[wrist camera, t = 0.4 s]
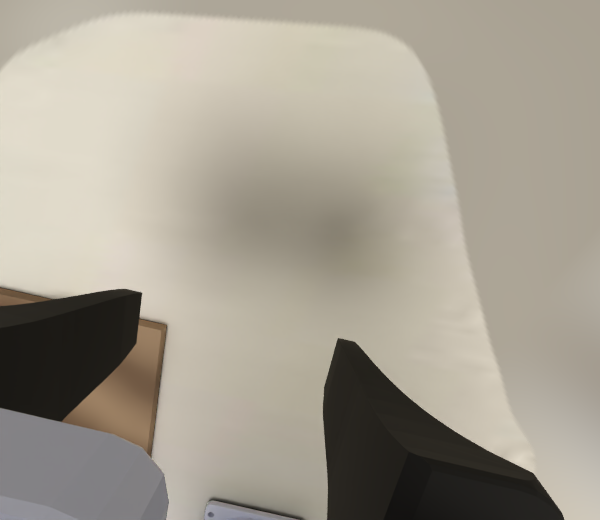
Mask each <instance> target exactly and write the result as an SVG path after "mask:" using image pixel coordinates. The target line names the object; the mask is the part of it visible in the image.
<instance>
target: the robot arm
mask: <svg viewBox="0 0 600 520" xmlns="http://www.w3.org/2000/svg"><path fill="white" fill-rule="evenodd" d="M141 297H142V293H141V292H136V291H132V290H128V289H116V290H108V291H102V292H96V293H90V294H84V295H78V296H73V297H67V298H61V299H54V300H47V301H41V302H34V303H26V304H18V305H8V306H0V520H166V516H167V510H168V503H169V501H168V495H167V489H166V483H165V477H164V474H163V472H162V470H161V469H160V468H159V467H158V466H157V464H156V463H155V462H154V461H153V460H152V459H151V457H150V456H149V455H148V454H147V453H146V451H145V450H144V449H143V448H142V447H140V446H138V445H136V444H133V443H131V442H129V441H127V440H125V439H123V438H121V437H118V436H116V435H114V434H110V433H106V432H102V431H97V430H93V429H89V428H85V427H80V426H76V425H72V424H67V423H63V422H62V421H63V420H64V418H65V417H66V416H67V415H68V414H69V413H70V412H71V411H72V410H74V409H75V408H76V407H77V406H78V405H79V404H80V403H81V402H82V401H83V400H84V399H85V398H86V397H87V396H88V395H89V394H90V393H91V392H92V391H93V390H95V389H96V388H97V387H98V386H99V385H100V384H101V383H102V382H103V381H104V380H105V379H106V378H107V377H108V376H109V375H110V374H111V373H112V372H113V371H114V370H115V369H116V368H117V367H118V366H119V365H120V364H121V363H122V362H123V360H124V359H125V358H126V357H127V355H128V354H129V353H130V351H131V350H132V349H133V347H134V346H135V345H136V343H137V334H138V325H139V316H140V306H141ZM323 421H324V435H325V447H326V460H327V473H328V512H327V520H564V517H563V515H562V513H561V511H560V510H559V508H558V507H557V505H556V504H555V503H554V501H553V500H552V499H551V497H550V496H549V494H548V493H547V492H546V490H545V489H544V487H543V486H542V485H541V483H540V482H539V481H538V479H537V478H536V476H535V475H534V474H533V473H532V472H530V471H528V470H526V469H524V468H521V467H519V466H517V465H515V464H513V463H511V462H509V461H507V460H505V459H503V458H501V457H499V456H497V455H495V454H493V453H491V452H489V451H487V450H485V449H484V448H482V447H480V446H478V445H477V444H475V443H473V442H471V441H470V440H468V439H466V438H464V437H463V436H461V435H460V434H458V433H456V432H455V431H453V430H452V429H450V428H449V427H447V426H446V425H444V424H443V423H441V422H440V421H438V420H437V419H435V418H434V417H433V416H431V415H430V414H428V413H427V412H426V411H424V410H423V409H422V408H421V407H419V406H418V405H417V404H416V403H414V402H413V401H412V400H411V399H410V398H408V397H407V396H406V395H405V394H404V393H403V392H402V391H400V390H399V389H398V388H397V387H396V386H395V385H394V384H393V383H392V382H391V381H390V380H389V379H388V378H387V377H386V376H385V375H384V374H383V373H382V372H381V371H380V369H379V368H378V367H377V366H376V365H375V364H374V363H373V362H372V361H371V359H370V358H369V357H368V356H367V355H366V354H365V352H364V351H363V350H362V349H361V348H360V347H359V346H358V345H357V344H356V343H355V342H353V341H348V340H344V339H340V338H338V340H337V343H336V347H335V351H334V354H333V358H332V361H331V365H330V369H329V372H328V376H327V379H326V383H325V387H324V401H323ZM204 520H298V519H294V518H289V517H285V516H280V515H276V514H271V513H267V512H262V511H258V510H254V509H249V508H245V507H240V506H236V505H231V504H227V503H222V502H218V501H209V502H208V503H207V505H206V509H205V514H204Z"/></svg>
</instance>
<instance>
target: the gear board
mask: <svg viewBox="0 0 600 520" xmlns="http://www.w3.org/2000/svg"><path fill="white" fill-rule="evenodd" d="M47 300H52V299H48V298H43V297H39V296H34V295H30V294H26V293H21V292H17V291H12V290H8V289H3V288H0V306H8V305H18V304H26V303H34V302H41V301H47ZM166 328H167V325H164V324H159V323H155V322H150V321H146V320H142V319H139V325H138V334H137V343H136V345H135V346H134V347H133V349H132V350H131V351H130V353H129V354H128V355H127V357H126V358H125V359H124V360H123V362H122V363H121V364H120V365H119V366H118V367H117V368H116V369H115V370H114V371H113V372H112V373H111V374H110V375H109V376H108V377H107V378H106V379H105V380H104V381H103V382H102V383H101V384H100V385H99V386H98V387H97V388H96V389H95V390H93V391H92V392H91V393H90V394H89V395H88V396H87V397H86V398H85V399H84V400H83V401H82V402H81V403H80V404H79V405H78V406H77V407H76V408H75V409H74V410H72V411H71V412H70V413H69V414H68V415H67V416H66V417H65V418H64V420H63V421H62V422H63V423H67V424H72V425H76V426H80V427H85V428H89V429H93V430H97V431H102V432H106V433H110V434H114V435H116V436H118V437H121V438H123V439H125V440H127V441H129V442H131V443H133V444H136V445H138V446H140V447H142V448H143V449H144V450H145V451H146V453H147V454H148V455H149V456H150V457H151V451H152V442H153V434H154V426H155V418H156V410H157V401H158V393H159V385H160V377H161V369H162V360H163V352H164V344H165V336H166Z"/></svg>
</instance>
